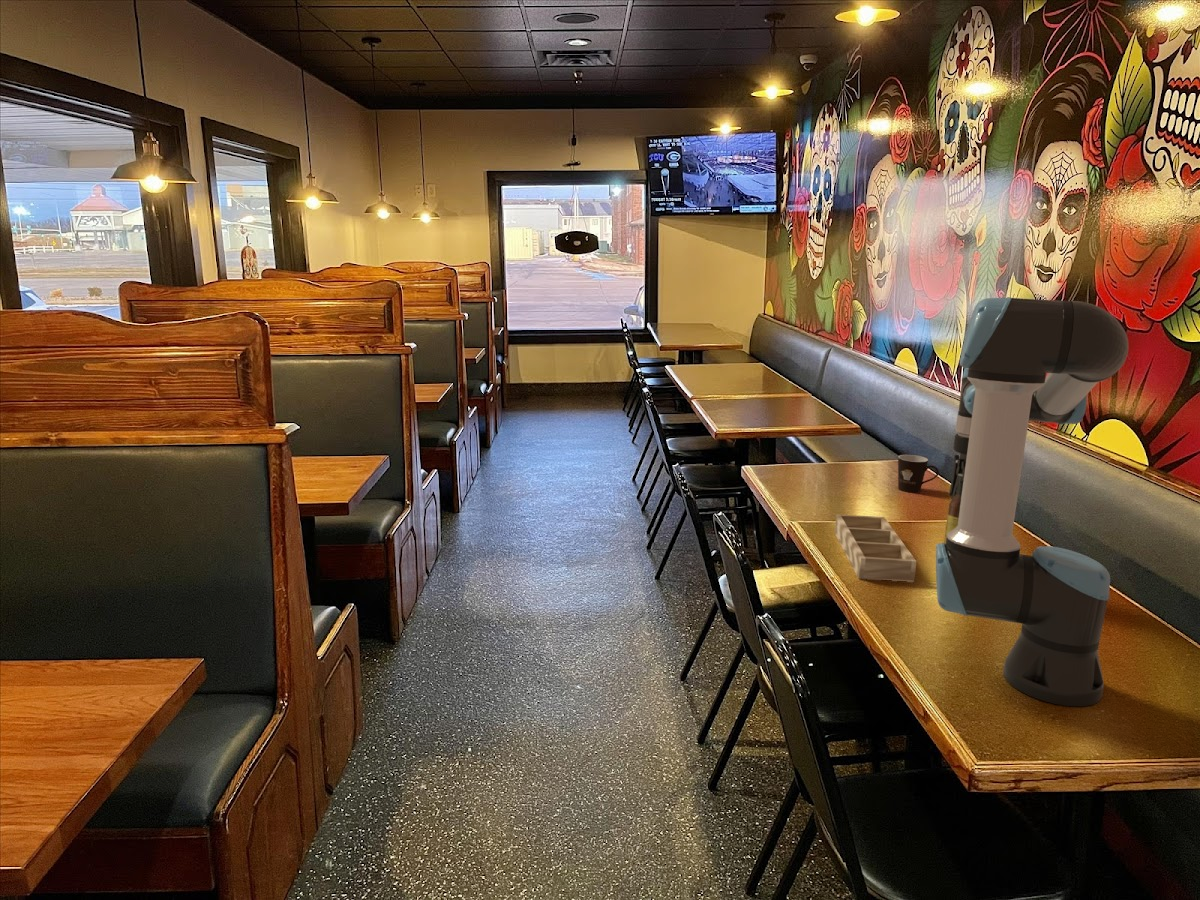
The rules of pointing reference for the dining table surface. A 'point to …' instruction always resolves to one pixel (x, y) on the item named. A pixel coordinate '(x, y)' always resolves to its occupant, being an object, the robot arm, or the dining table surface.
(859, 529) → the condiment rack
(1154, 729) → the dining table surface
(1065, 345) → the robot arm
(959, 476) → the sauce bottle
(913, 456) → the coffee mug
